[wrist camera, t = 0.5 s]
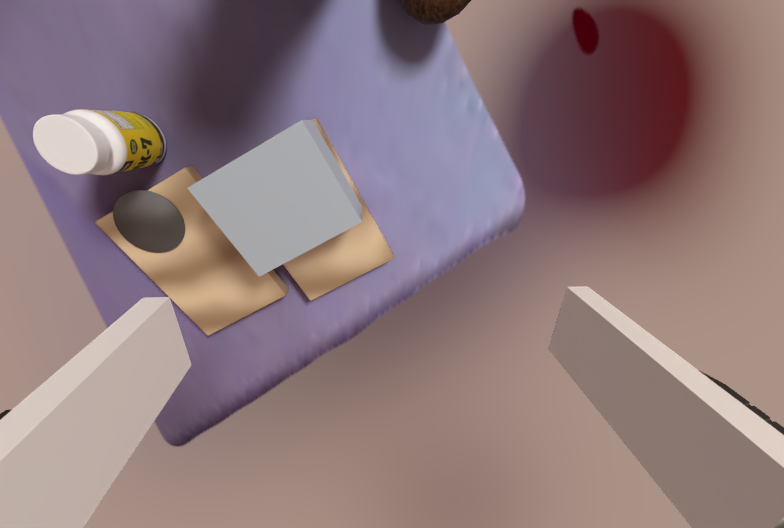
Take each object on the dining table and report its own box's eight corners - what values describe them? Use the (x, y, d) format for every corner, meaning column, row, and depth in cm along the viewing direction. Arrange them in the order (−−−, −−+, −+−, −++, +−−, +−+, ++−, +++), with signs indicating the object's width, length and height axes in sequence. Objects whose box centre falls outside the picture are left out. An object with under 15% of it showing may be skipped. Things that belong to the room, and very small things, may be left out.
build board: (100, 211, 32) (87, 216, 30) (187, 159, 31) (178, 161, 29) (213, 328, 39) (207, 336, 37) (288, 289, 37) (285, 296, 36)
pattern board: (223, 174, 31) (202, 182, 27) (317, 118, 30) (310, 118, 26) (312, 294, 38) (306, 315, 34) (393, 253, 37) (396, 269, 33)
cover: (217, 176, 30) (187, 188, 25) (312, 119, 29) (301, 119, 23) (274, 252, 33) (259, 276, 28) (361, 205, 32) (361, 222, 27)
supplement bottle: (156, 175, 31) (89, 194, 23) (104, 144, 30) (15, 153, 22) (176, 134, 30) (113, 139, 22) (124, 99, 28) (36, 91, 21)
